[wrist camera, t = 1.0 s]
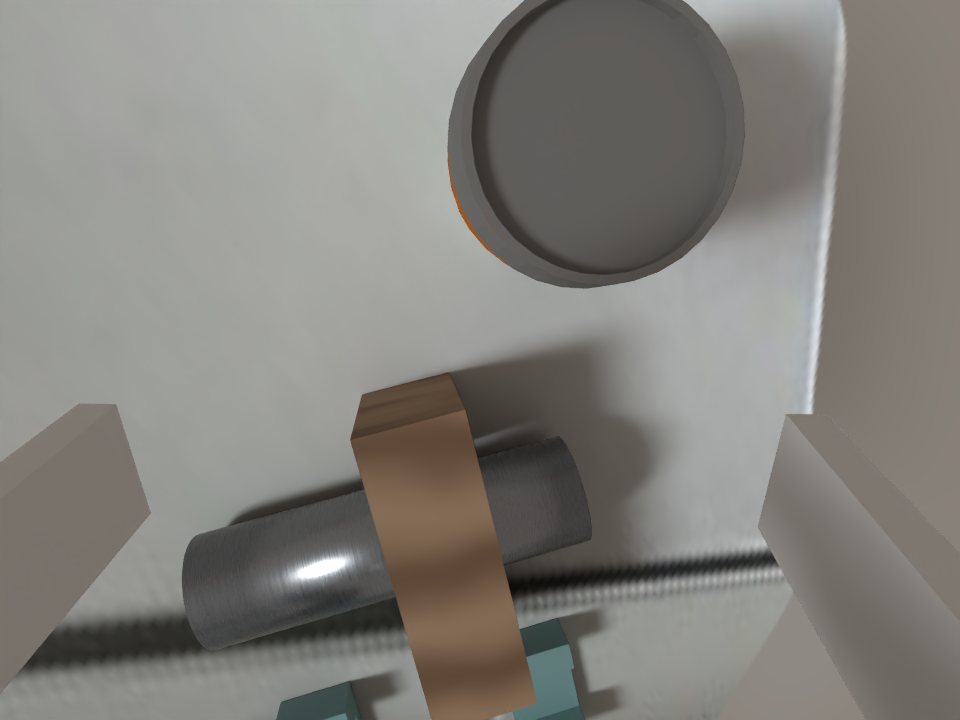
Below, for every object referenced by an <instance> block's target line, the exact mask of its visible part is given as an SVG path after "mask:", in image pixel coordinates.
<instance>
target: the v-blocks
mask: <svg viewBox="0 0 960 720" xmlns="http://www.w3.org/2000/svg"><path fill="white" fill-rule="evenodd" d="M520 634H521V638H522V642H523V646H524V650H525V654H526V658H527V662H528V666H529V670H530V674H531V678H532V682H533V686H534V690H535V695H536V699H537V703H536V704H533V705H530V706H527V707H524V708H520V709H517V710H514V711H513V714H514V718H515V720H585V718H584V716H583V713H582V711H581V709H580V706H579V702H578V698H577V693H576V689H575V685H574V680H573V676H572V672H571V669H573V668H574V664H573V660H572V655H571V651H570V646H569V643H568V641H567V638H566V636H565V634H564V632H563V629H562V627H561V625H560V623H559V621H558V618H557V619H554V620H550V621H547V622H544V623H540V624H537V625H534V626H530V627H527V628H524V629H521V630H520ZM276 720H361V717H360V714H359V711H358V708H357V705H356V702H355V699H354V695H353V692H352V689H351V686H350V683H349V682H346V683H343V684H340V685H336V686H333V687H330V688H327V689H323V690H320V691H317V692H313V693H310V694H307V695H304V696H300V697H297V698H294V699H290V700H287V701H284V702H281V704H280V708H279V712H278V715H277V719H276Z"/></svg>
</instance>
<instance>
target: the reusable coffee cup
mask: <svg viewBox="0 0 960 720" xmlns="http://www.w3.org/2000/svg"><path fill="white" fill-rule="evenodd" d="M744 137H745V131H744V108H743V102H742V97H741V93H740V88H739V84H738V79H737V76H736V73H735V71H734V69H733V66H732V64H731V62H730V59H729V57H728V55H727V52H726V50H725V48H724V47H723V45H722V44H721V42H720V41H719V39H718V38H717V36H716V35H715V33H714V32H713V30H712V29H711V27H710V26H709V24H708V23H707V22H706V21H705V20H704V19H703V18H702V17H701V16H699V15H698V14H697V13H696V12H695V11H694V10H693V9H692V8H691V7H690V6H689V5H688V4H687V3H686V2H684V1H682V0H524V1H523V2H522V3H521V4H520V5H519V6H518V7H517V8H516V9H515V10H513V11H512V12H511V13H510V14H509V15H508V16H507V17H506V18H505V19H504V20H502V21H501V23H500V24H499V25H498V26H497V28H496V29H495V30H494V31H493V33H492V34H491V35H490V36H489V38H488V39H487V40H486V42H485V43H484V44H483V46H482V47H481V48H480V50H479V51H478V53H477V54H476V55H475V57H474V58H473V59H472V61H471V62H470V63H469V65H468V67H467V69H466V71H465V74H464V76H463V78H462V80H461V82H460V84H459V87H458V89H457V91H456V94H455V98H454V102H453V106H452V110H451V115H450V119H449V130H448V167H449V175H450V182H451V188H452V191H453V194H454V197H455V200H456V203H457V206H458V209H459V212H460V214H461V215H462V217H463V219H464V221H465V222H466V224H467V226H468V228H469V229H470V230H471V232H472V233H473V234H474V235H475V236H476V238H477V239H478V240H479V241H480V242H481V243H482V245H483V246H484V247H485V248H486V249H487V250H488V251H490V252H491V253H492V254H493V255H495V256H496V257H497V258H499V259H500V260H501V261H502V262H504V263H505V264H507V265H509V266H510V267H512V268H513V269H515V270H517V271H519V272H521V273H523V274H525V275H527V276H529V277H531V278H533V279H535V280H537V281H541V282H544V283H548V284H552V285H556V286H559V287H570V288H593V287H600V286H607V285H613V284H619V283H625V282H630V281H635V280H637V279H640V278H643V277H646V276H648V275H651V274H654V273H657V272H659V271H661V270H662V269H664V268H666V267H667V266H669V265H671V264H672V263H674V262H676V261H677V260H679V259H681V258H682V257H683V256H684V255H685V254H687V253H688V252H689V251H690V250H691V249H692V248H693V247H694V246H695V245H697V244H698V243H699V242H700V241H701V240H702V239H703V238H704V236H705V235H706V234H707V232H708V231H709V230H710V229H711V227H712V226H713V225H714V223H715V222H716V221H717V219H718V218H719V217H720V215H721V213H722V211H723V209H724V207H725V205H726V203H727V201H728V199H729V197H730V195H731V193H732V191H733V188H734V185H735V182H736V178H737V175H738V172H739V169H740V166H741V160H742V152H743V144H744Z"/></svg>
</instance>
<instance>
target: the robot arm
mask: <svg viewBox="0 0 960 720" xmlns="http://www.w3.org/2000/svg"><path fill="white" fill-rule="evenodd" d="M150 513H151V512H150V509H149V506H148V503H147V500H146V497H145V494H144V490H143V487H142V484H141V481H140V478H139V475H138V472H137V468H136V465H135V462H134V459H133V456H132V453H131V450H130V447H129V443H128V440H127V437H126V434H125V431H124V428H123V425H122V421H121V418H120V415H119V412H118V409H117V406H116V404H78V405H77V406H75V407H74V408H73V409H71V410H70V411H69V412H67V413H66V414H65V415H63V416H62V417H61V418H59V419H58V420H57V421H55V422H54V423H53V424H51V425H50V426H49V427H47V428H46V429H44V430H43V431H42V432H40V433H39V434H38V435H36V436H35V437H34V438H32V439H31V440H30V441H28V442H27V443H26V444H24V445H23V446H22V447H20V448H19V449H18V450H16V451H15V452H14V453H12V454H11V455H10V456H8V457H7V458H6V459H4V460H3V461H2V462H0V693H1V692H2V691H3V690H4V688H5V687H6V686H7V685H8V684H9V682H10V681H11V680H12V679H13V678H14V676H15V675H16V674H17V673H18V672H19V670H20V669H21V668H22V667H23V666H24V664H25V663H26V662H27V661H28V660H29V658H30V657H31V656H32V655H33V654H34V652H35V651H36V650H37V649H38V648H39V646H40V645H41V644H42V643H43V642H44V640H45V639H46V638H47V637H48V636H49V634H50V633H51V632H52V631H53V630H54V629H55V627H56V626H57V625H58V624H59V623H60V621H61V620H62V619H63V618H64V617H65V615H66V614H67V613H68V612H69V611H70V609H71V608H72V607H73V606H74V605H75V603H76V602H77V601H78V600H79V599H80V597H81V596H82V595H83V594H84V593H85V591H86V590H87V589H88V588H89V587H90V585H91V584H92V583H93V582H94V581H95V579H96V578H97V577H98V576H99V575H100V573H101V572H102V571H103V570H104V569H105V567H106V566H107V565H108V564H109V563H110V561H111V560H112V559H113V558H114V557H115V555H116V554H117V553H118V552H119V551H120V549H121V548H122V547H123V546H124V545H125V543H126V542H127V541H128V540H129V539H130V537H131V536H132V535H133V534H134V533H135V531H136V530H137V529H138V528H139V527H140V525H141V524H142V523H143V522H144V521H145V519H146V518H147V517H148V516H149V515H150ZM758 529H759V530H760V532H761V534H762V536H763V538H764V539H765V541H766V543H767V545H768V547H769V548H770V550H771V552H772V554H773V555H774V557H775V559H776V561H777V563H778V564H779V566H780V568H781V570H782V572H783V573H784V575H785V577H786V579H787V580H788V582H789V584H790V586H791V588H792V589H793V591H794V593H795V595H796V597H797V598H798V600H799V602H800V604H801V606H802V607H803V609H804V611H805V613H806V614H807V616H808V618H809V620H810V622H811V623H812V625H813V627H814V629H815V630H816V632H817V634H818V636H819V637H820V639H821V641H822V643H823V645H824V646H825V648H826V650H827V652H828V654H829V656H830V657H831V659H832V661H833V663H834V664H835V666H836V668H837V670H838V671H839V673H840V675H841V677H842V679H843V681H844V682H845V684H846V686H847V688H848V690H849V691H850V693H851V695H852V697H853V698H854V700H855V702H856V704H857V706H858V707H859V709H860V711H861V713H862V715H863V716H864V718H865V720H960V553H959V552H958V551H957V550H956V548H954V546H953V545H952V544H950V542H949V541H948V540H947V539H946V538H945V537H944V536H943V535H942V534H941V533H940V532H939V531H938V530H937V529H936V528H935V527H934V526H933V525H932V523H930V521H929V520H928V519H927V518H926V517H925V516H924V515H923V514H922V513H921V512H920V511H919V510H918V509H917V508H916V507H915V506H914V505H913V504H912V503H911V502H910V501H909V499H908V498H906V496H905V495H904V494H903V493H902V492H901V491H900V490H899V489H898V488H897V487H896V486H895V485H894V484H893V483H892V482H891V481H890V480H889V479H888V478H887V477H886V476H885V474H884V473H883V472H882V471H881V470H880V469H879V468H878V467H877V466H876V465H875V464H874V463H873V462H872V461H871V460H870V459H869V458H868V457H867V456H866V455H865V454H864V453H863V452H862V450H861V449H860V448H859V447H858V446H857V445H856V444H855V443H854V442H853V441H852V440H851V439H850V438H849V437H848V436H847V435H846V434H845V433H844V432H843V431H842V430H841V429H840V428H839V427H838V425H837V424H836V423H835V422H834V421H833V420H832V419H831V418H830V417H829V416H828V415H810V414H786V416H785V420H784V424H783V428H782V432H781V436H780V440H779V444H778V448H777V452H776V456H775V460H774V464H773V468H772V472H771V476H770V480H769V484H768V488H767V492H766V496H765V500H764V504H763V508H762V512H761V516H760V520H759V524H758Z"/></svg>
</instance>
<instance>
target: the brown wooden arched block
mask: <svg viewBox="0 0 960 720" xmlns="http://www.w3.org/2000/svg"><path fill="white" fill-rule="evenodd" d="M350 441H351V444H352V448H353V451H354V455H355V458H356V461H357V465H358V468H359V472H360V475H361V479H362V482H363V486H364V489H365V492H366V496H367V499H368V503H369V506H370V510H371V513H372V516H373V520H374V523H375V527H376V530H377V534H378V537H379V540H380V544H381V547H382V551H383V554H384V558H385V561H386V564H387V568H388V571H389V575H390V578H391V582H392V585H393V589H394V592H395V595H396V599H397V602H398V606H399V609H400V613H401V616H402V619H403V623H404V626H405V630H406V633H407V637H408V640H409V643H410V647H411V650H412V654H413V657H414V661H415V664H416V668H417V671H418V674H419V678H420V681H421V685H422V688H423V692H424V695H425V698H426V702H427V705H428V709H429V712H430V716H431V719H432V720H486V719H489V718H492V717H495V716H498V715H502V714H505V713H508V712H511V711H514V710H517V709H520V708H524V707H527V706H530V705H533V704H536V703H537V699H536V695H535V690H534V686H533V682H532V678H531V674H530V670H529V666H528V662H527V658H526V654H525V650H524V646H523V642H522V638H521V634H520V630H519V625H518V621H517V617H516V613H515V609H514V605H513V601H512V597H511V593H510V589H509V585H508V581H507V577H506V573H505V569H504V565H503V560H502V556H501V552H500V548H499V544H498V540H497V536H496V532H495V528H494V524H493V520H492V516H491V512H490V508H489V504H488V500H487V495H486V491H485V487H484V483H483V479H482V475H481V471H480V467H479V463H478V459H477V455H476V451H475V447H474V443H473V439H472V435H471V430H470V426H469V422H468V418H467V414H466V410H465V408H464V406H463V403H462V401H461V399H460V397H459V394H458V392H457V390H456V388H455V386H454V383H453V381H452V379H451V377H450V374H449V373H445V374H441V375H437V376H433V377H429V378H425V379H421V380H418V381H414V382H410V383H406V384H402V385H398V386H394V387H390V388H387V389H383V390H379V391H375V392H371V393H367V394H363V395H362V397H361V401H360V404H359V408H358V412H357V416H356V420H355V424H354V428H353V432H352V435H351V439H350Z"/></svg>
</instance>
